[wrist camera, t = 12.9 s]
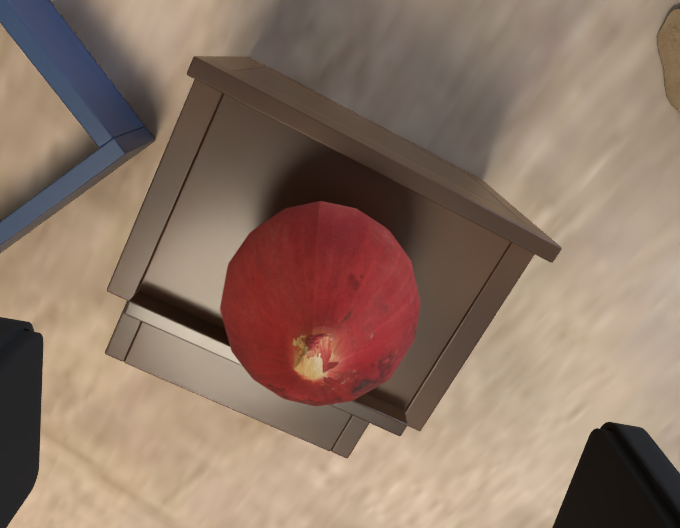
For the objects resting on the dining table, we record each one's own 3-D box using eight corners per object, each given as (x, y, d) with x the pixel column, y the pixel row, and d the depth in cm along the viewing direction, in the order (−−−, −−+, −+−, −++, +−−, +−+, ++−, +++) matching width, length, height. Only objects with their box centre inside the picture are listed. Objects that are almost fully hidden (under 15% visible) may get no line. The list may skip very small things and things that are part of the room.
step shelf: (346, 410, 35) (350, 570, 24) (133, 315, 33) (33, 443, 22) (483, 180, 31) (562, 248, 20) (247, 56, 29) (193, 55, 18)
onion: (436, 284, 22) (488, 405, 14) (304, 364, 23) (287, 516, 15) (346, 148, 20) (351, 202, 13) (208, 240, 21) (138, 341, 14)
